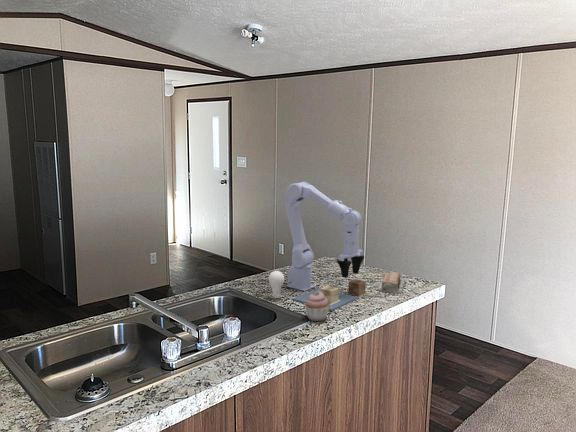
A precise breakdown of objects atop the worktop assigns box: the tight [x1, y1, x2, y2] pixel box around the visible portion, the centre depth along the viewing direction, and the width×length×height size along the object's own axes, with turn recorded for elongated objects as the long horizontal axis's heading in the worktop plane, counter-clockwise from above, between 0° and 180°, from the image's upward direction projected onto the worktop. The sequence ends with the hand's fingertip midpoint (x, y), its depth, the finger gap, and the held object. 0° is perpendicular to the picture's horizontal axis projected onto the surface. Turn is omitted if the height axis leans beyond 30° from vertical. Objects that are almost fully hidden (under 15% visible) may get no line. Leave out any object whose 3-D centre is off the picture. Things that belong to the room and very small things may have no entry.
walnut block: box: [347, 278, 367, 297], centre depth 194 cm, size 5×5×5 cm
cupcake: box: [303, 291, 331, 322], centre depth 166 cm, size 9×9×10 cm
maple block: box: [319, 285, 340, 304], centre depth 182 cm, size 5×5×5 cm
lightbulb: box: [268, 270, 285, 300], centre depth 186 cm, size 6×6×11 cm
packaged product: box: [377, 271, 406, 294], centre depth 205 cm, size 18×5×10 cm
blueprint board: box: [292, 287, 359, 312], centre depth 186 cm, size 18×18×1 cm
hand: (350, 275), depth 190 cm, fingers open, 7 cm apart
